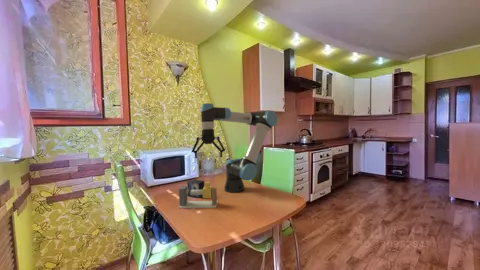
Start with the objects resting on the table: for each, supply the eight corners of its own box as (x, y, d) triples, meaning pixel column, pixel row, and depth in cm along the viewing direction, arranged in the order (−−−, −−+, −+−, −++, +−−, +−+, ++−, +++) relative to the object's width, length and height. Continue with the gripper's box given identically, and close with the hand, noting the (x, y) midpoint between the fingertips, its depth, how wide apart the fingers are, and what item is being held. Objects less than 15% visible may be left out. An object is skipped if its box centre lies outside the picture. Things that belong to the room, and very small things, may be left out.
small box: (187, 196, 141) (186, 181, 140) (193, 193, 146) (192, 179, 146) (199, 198, 136) (198, 183, 135) (205, 195, 141) (204, 180, 141)
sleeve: (212, 194, 126) (212, 181, 126) (211, 197, 121) (210, 183, 120) (204, 195, 126) (204, 181, 126) (202, 198, 121) (202, 183, 120)
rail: (218, 202, 128) (217, 184, 128) (216, 207, 119) (215, 189, 119) (183, 202, 129) (182, 185, 128) (178, 208, 120) (178, 189, 119)
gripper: (227, 128, 130) (228, 161, 131) (188, 129, 127) (189, 162, 128) (228, 128, 122) (229, 163, 123) (186, 129, 120) (187, 165, 121)
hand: (209, 163), depth 126 cm, fingers open, 13 cm apart
